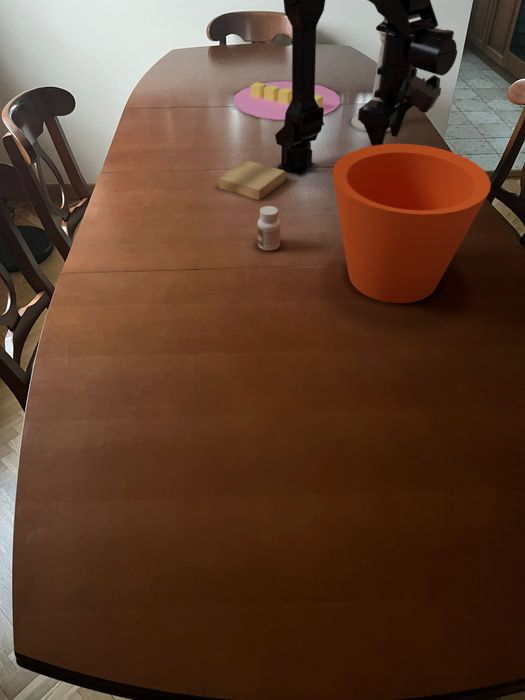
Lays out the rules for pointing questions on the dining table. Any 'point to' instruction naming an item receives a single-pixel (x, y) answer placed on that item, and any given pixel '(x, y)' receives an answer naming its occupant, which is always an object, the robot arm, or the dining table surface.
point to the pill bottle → (268, 228)
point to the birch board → (252, 179)
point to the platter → (279, 99)
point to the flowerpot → (404, 216)
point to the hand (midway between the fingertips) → (385, 144)
